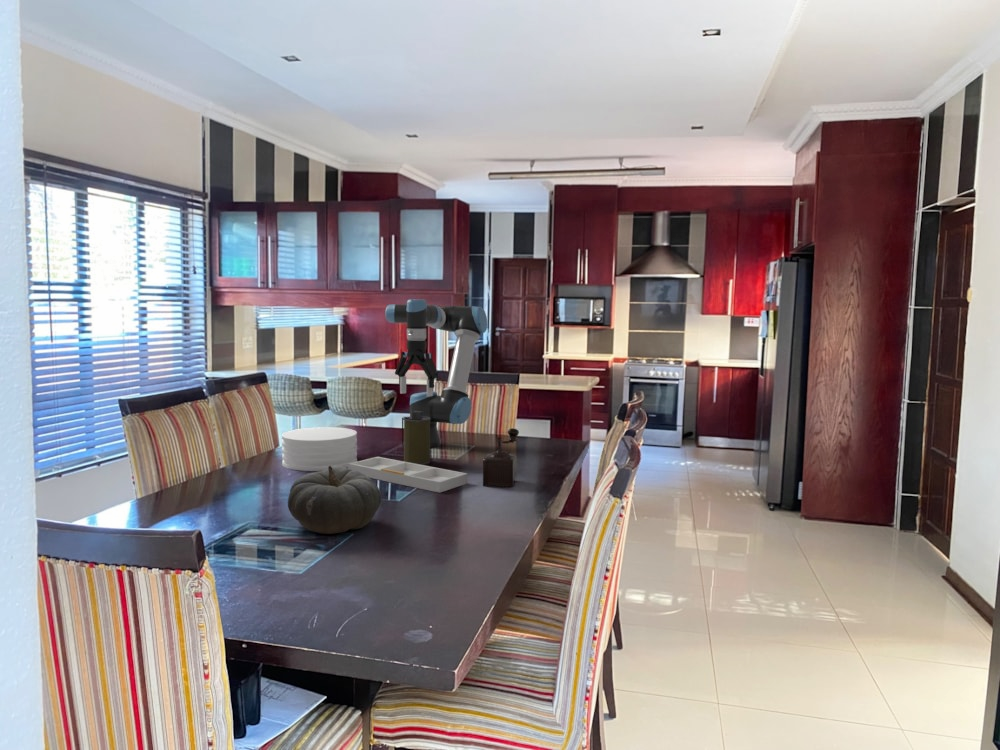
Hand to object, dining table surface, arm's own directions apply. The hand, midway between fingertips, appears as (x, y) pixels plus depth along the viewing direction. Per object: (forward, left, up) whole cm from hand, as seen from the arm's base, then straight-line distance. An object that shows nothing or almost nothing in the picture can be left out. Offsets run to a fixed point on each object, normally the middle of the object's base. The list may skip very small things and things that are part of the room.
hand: (416, 394), depth 269 cm
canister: (0, 0, -27) cm, 27 cm away
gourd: (+35, -72, -27) cm, 84 cm away
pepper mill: (+43, -4, -27) cm, 51 cm away
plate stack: (-29, -23, -27) cm, 46 cm away
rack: (+14, -21, -27) cm, 36 cm away
